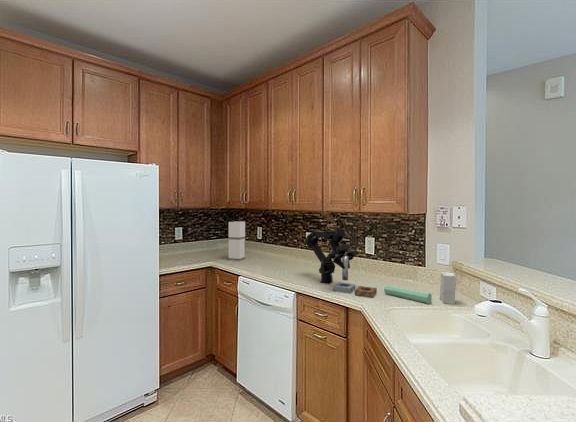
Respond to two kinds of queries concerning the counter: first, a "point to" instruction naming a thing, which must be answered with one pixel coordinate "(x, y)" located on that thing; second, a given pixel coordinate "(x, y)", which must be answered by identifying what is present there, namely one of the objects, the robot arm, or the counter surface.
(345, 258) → the axle
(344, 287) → the socket block
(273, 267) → the counter surface
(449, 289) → the skincare box
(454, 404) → the counter surface
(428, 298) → the green faceted rod
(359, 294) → the brown square frame
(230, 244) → the white square tower
